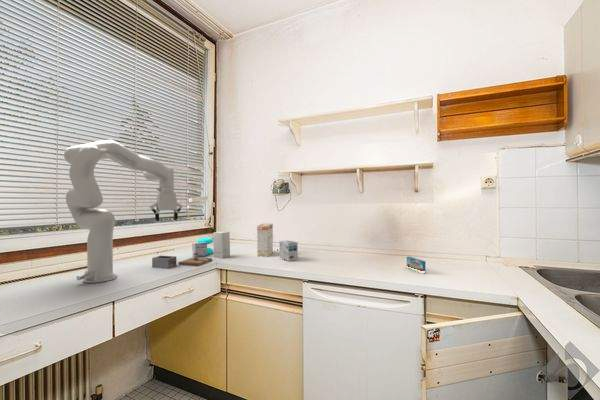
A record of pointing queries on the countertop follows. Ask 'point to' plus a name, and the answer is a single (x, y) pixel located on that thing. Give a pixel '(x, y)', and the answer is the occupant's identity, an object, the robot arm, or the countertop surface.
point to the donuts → (208, 241)
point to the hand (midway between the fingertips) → (166, 220)
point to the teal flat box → (416, 263)
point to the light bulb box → (289, 250)
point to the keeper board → (195, 261)
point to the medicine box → (199, 249)
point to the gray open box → (164, 261)
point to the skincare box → (221, 244)
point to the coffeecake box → (264, 239)
